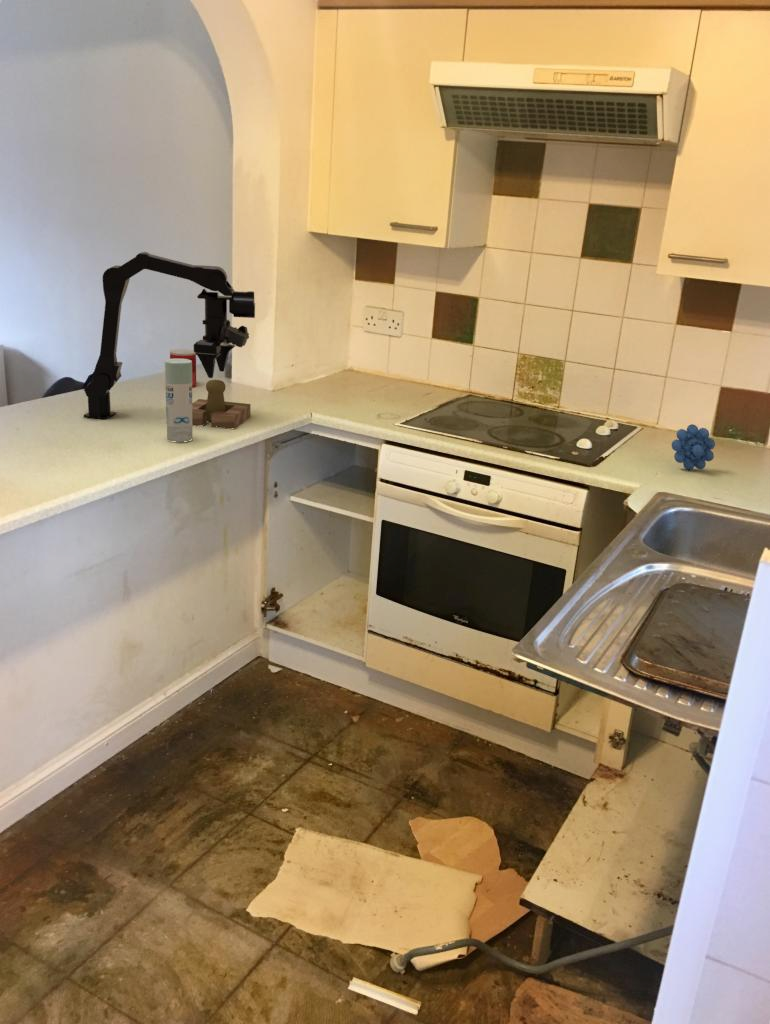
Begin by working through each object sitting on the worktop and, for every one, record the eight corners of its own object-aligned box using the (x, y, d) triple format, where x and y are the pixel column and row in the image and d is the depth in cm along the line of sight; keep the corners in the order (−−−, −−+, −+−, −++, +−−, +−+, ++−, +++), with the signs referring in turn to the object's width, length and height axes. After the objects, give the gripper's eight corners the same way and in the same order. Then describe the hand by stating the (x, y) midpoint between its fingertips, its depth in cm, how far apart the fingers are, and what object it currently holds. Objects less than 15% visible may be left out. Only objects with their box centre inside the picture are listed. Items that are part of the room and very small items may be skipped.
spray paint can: (195, 442, 218) (194, 363, 211) (169, 443, 216) (167, 363, 209) (189, 435, 224) (188, 358, 217) (164, 436, 221) (162, 358, 214)
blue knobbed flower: (673, 474, 219) (682, 428, 215) (663, 466, 226) (671, 421, 222) (717, 475, 221) (727, 430, 216) (706, 467, 227) (715, 423, 223)
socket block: (234, 429, 232) (234, 416, 231) (180, 423, 234) (179, 410, 233) (250, 416, 246) (250, 404, 245) (199, 410, 248) (199, 398, 247)
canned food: (201, 386, 276) (200, 352, 273) (179, 389, 271) (179, 354, 267) (187, 382, 281) (186, 348, 277) (165, 384, 276) (165, 350, 272)
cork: (204, 422, 237) (203, 382, 233) (205, 416, 242) (204, 377, 238) (226, 422, 238) (226, 383, 234) (227, 417, 243) (227, 378, 239)
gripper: (234, 323, 220) (234, 384, 226) (255, 314, 238) (255, 370, 243) (192, 319, 222) (193, 380, 227) (216, 311, 239) (216, 367, 245)
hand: (216, 374), depth 236 cm, fingers open, 9 cm apart
